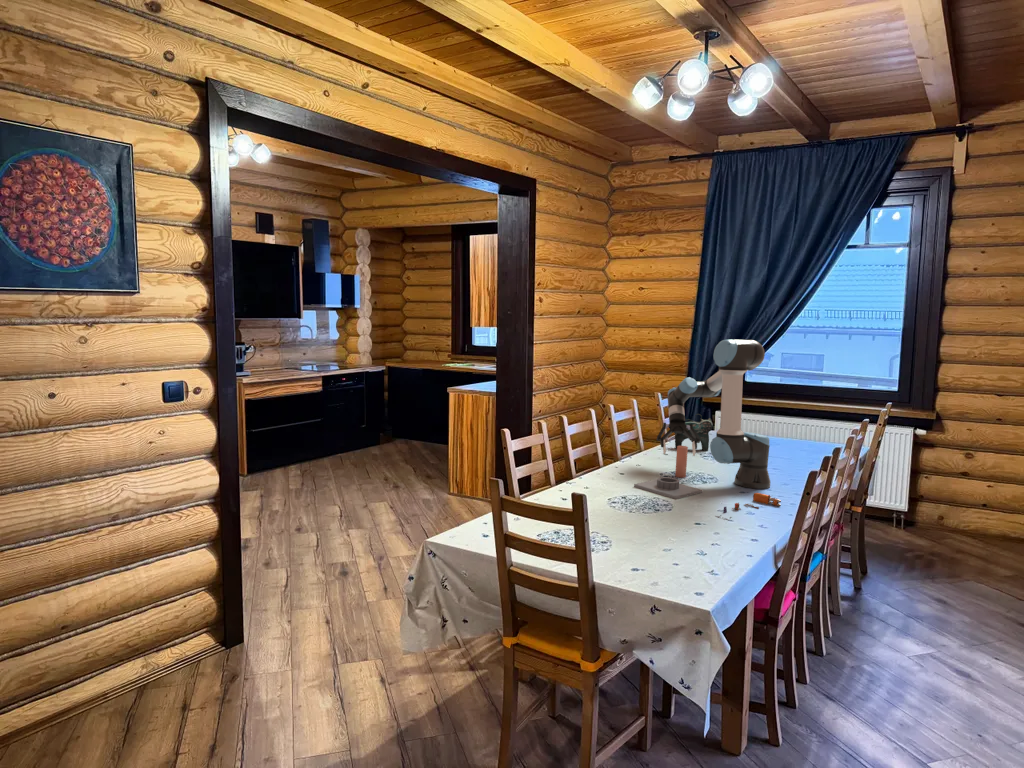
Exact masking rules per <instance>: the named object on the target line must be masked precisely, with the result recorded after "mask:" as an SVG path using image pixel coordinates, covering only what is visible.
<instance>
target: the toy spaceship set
mask: <svg viewBox="0 0 1024 768" xmlns="http://www.w3.org/2000/svg"><path fill="white" fill-rule="evenodd" d="M752 501H753V502H757V503H761V504H764V503H765V504H766V505H772V506H776V507H781V502H782V500H780V499H779V498H776V497H773V495H770V494H766V493H760V492H754V493H753V496H752ZM765 504H764V505H765ZM743 507H746V508H748V507H751V508H754V509H757V510H759V509H760V507H759V506H755V505H754V504H751V503H745V504H743ZM731 510H736V511H738V512H739V511H741V510H742V509H741V508H740V502H735V503H734V507H731ZM722 511H723V514H726V513H727V512H728V510H727V506H723V510H722ZM715 517H716V518H717V519H721V520H724V521H729V519H731V518H732V516H730V517H729V519H728V518H726V517H722V516H721V517H722V518H721V517H720V516H718V515H715Z"/></svg>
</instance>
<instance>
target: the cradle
mask: <svg viewBox="0 0 1024 768" xmlns="http://www.w3.org/2000/svg"><path fill="white" fill-rule="evenodd" d="M633 487H634V488H637V489H640V490H644V491H647V492H651V493H654V494H657V495H661V496H664V497H667V498H669V499H674V500H679V499H681V498H683V499H684V498H686V497H689V496H694V495H697V494H701V493H703V489H701V488H697V487H694V486H690V485H687V484H682V483H681V482H680V479H677V478H676V477H675V478H674V477H666V476H664V477H663V476H662V477H657V478H655V479H652V480H651V479H650V480H647V481H643V482H637V483H634V485H633Z"/></svg>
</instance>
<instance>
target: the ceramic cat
mask: <svg viewBox="0 0 1024 768" xmlns="http://www.w3.org/2000/svg"><path fill="white" fill-rule="evenodd" d="M698 415H699V416H700V417H701V418H700V420H699V421H694V420H692V419H689V418H687V419H686V418H685V424H686V425H690V424H692V426H693V429H694V430H695V432H696V433H697V434H698V436H699V437H700V439H701V440H700V444H701V451H703V452H704V451H705V452H709V449H710V448H709V447H710V445H709V444H710V432H711V431H712V430H713V422H712V419H711V418H710V417H709V418H708V419H703V417H702V415H701V414H700V413H696V414H695V415H694V417H696V416H698ZM686 429H687V431H688V432H689V433H690V434H691V432H690V430H688V428H686ZM691 435H692V434H691ZM692 436H693V435H692ZM687 439H688V438H687V437H686V436H685V435H683V434H682V433H681V434H679V433H674V447H675V449H676V450H677V446H683V445H682V444H683V442H684V441H686V440H687Z"/></svg>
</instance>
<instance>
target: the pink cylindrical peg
mask: <svg viewBox="0 0 1024 768" xmlns="http://www.w3.org/2000/svg"><path fill="white" fill-rule="evenodd" d="M688 451H689V447H688V446H687V445H682V446H677V449H676V457H675V458H676V459H675V474H674V476H675V478H681V479H683V478H686V477H687V466H688V464H687V463H688Z"/></svg>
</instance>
